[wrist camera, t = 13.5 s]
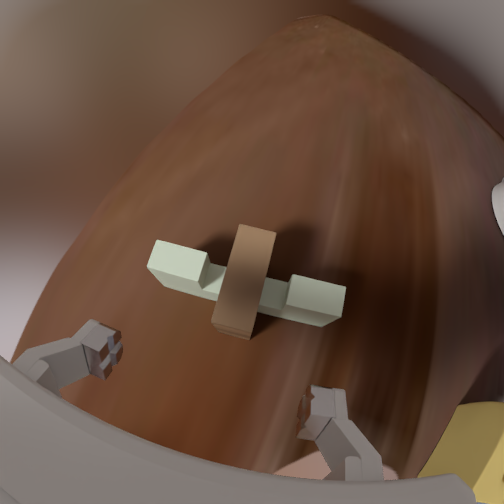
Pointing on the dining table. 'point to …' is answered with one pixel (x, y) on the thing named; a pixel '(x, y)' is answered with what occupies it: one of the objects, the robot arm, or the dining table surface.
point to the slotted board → (273, 294)
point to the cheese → (473, 450)
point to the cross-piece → (243, 282)
